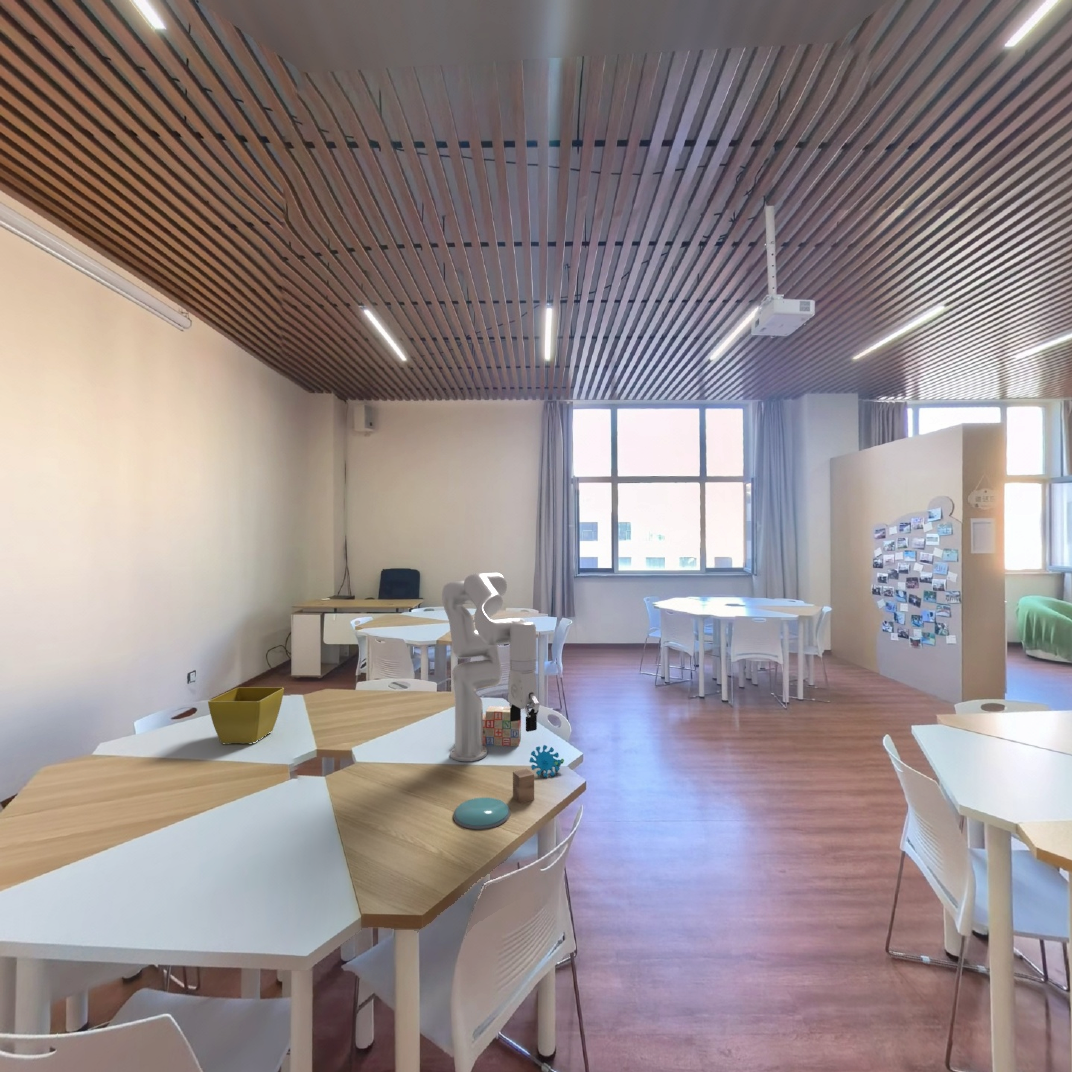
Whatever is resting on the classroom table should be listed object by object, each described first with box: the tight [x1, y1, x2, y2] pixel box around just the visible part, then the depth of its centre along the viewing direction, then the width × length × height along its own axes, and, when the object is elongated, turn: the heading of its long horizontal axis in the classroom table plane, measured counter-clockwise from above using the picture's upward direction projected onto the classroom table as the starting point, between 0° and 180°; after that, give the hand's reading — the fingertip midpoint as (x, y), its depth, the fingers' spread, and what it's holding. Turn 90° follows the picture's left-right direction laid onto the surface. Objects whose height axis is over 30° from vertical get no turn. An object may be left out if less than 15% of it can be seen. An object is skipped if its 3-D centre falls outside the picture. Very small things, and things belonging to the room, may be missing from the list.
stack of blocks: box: [483, 705, 522, 747], centre depth 192 cm, size 21×6×12 cm, turn 85°
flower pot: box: [207, 686, 285, 744], centre depth 197 cm, size 19×19×17 cm
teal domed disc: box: [453, 797, 511, 831], centre depth 139 cm, size 15×15×1 cm
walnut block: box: [512, 768, 535, 804], centre depth 148 cm, size 4×4×7 cm
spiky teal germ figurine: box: [528, 744, 565, 778], centre depth 166 cm, size 11×6×10 cm
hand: (523, 725), depth 149 cm, fingers open, 9 cm apart
